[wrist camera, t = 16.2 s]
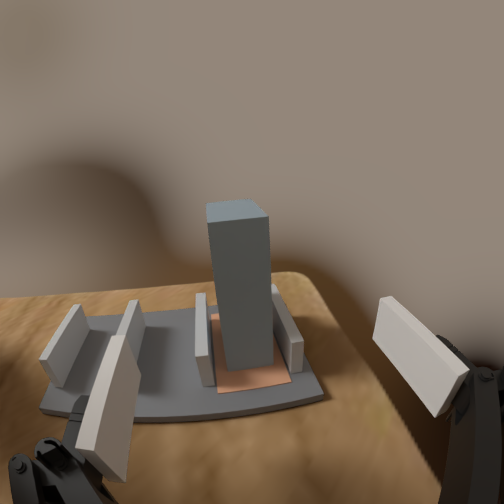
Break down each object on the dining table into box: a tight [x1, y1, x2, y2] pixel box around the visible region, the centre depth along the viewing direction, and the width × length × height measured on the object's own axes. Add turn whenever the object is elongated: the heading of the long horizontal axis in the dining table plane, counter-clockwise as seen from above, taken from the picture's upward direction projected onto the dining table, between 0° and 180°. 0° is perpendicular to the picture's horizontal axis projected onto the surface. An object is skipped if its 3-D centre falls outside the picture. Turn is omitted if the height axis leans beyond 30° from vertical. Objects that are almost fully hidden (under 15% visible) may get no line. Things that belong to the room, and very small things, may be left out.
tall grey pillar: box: [206, 199, 274, 372], centre depth 24 cm, size 4×7×13 cm, turn 10°
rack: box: [39, 284, 324, 422], centre depth 25 cm, size 25×16×4 cm, turn 99°
